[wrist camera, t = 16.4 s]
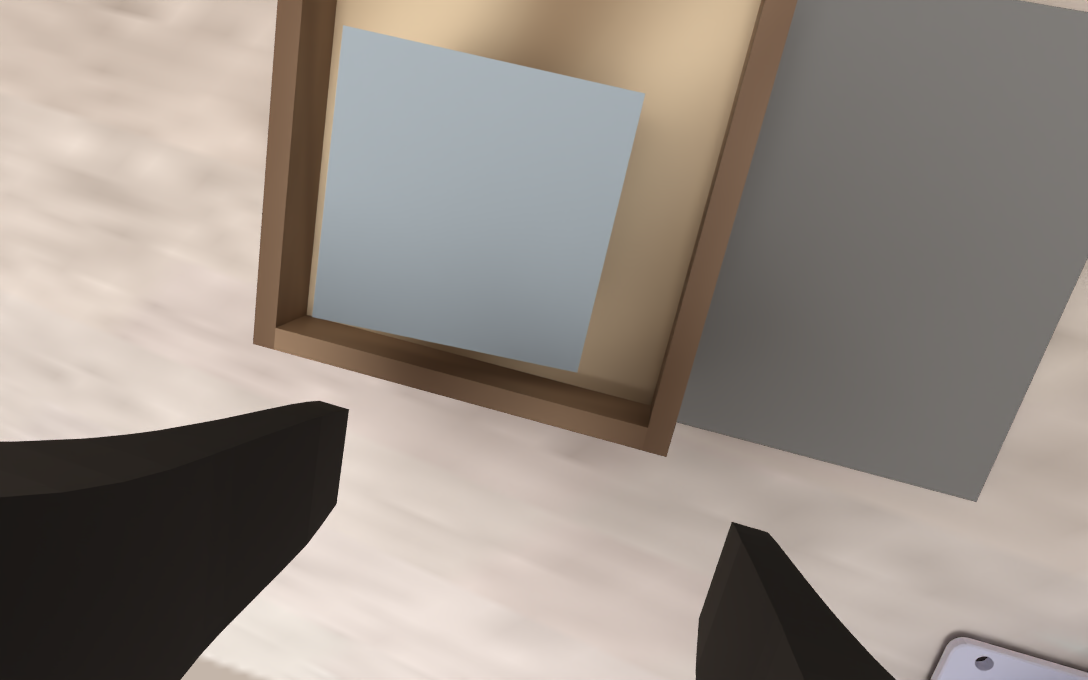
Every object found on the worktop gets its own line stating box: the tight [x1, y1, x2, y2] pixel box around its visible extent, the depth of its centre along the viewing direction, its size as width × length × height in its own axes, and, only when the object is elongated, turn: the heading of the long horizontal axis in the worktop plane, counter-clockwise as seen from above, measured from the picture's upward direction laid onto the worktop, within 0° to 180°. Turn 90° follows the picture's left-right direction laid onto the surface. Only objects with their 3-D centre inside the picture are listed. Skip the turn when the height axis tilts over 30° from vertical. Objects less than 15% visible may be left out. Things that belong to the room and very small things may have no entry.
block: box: [312, 25, 645, 373], centre depth 13 cm, size 4×4×6 cm
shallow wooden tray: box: [253, 0, 798, 457], centre depth 17 cm, size 11×11×5 cm
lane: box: [677, 0, 1088, 502], centre depth 19 cm, size 22×13×1 cm, turn 79°
